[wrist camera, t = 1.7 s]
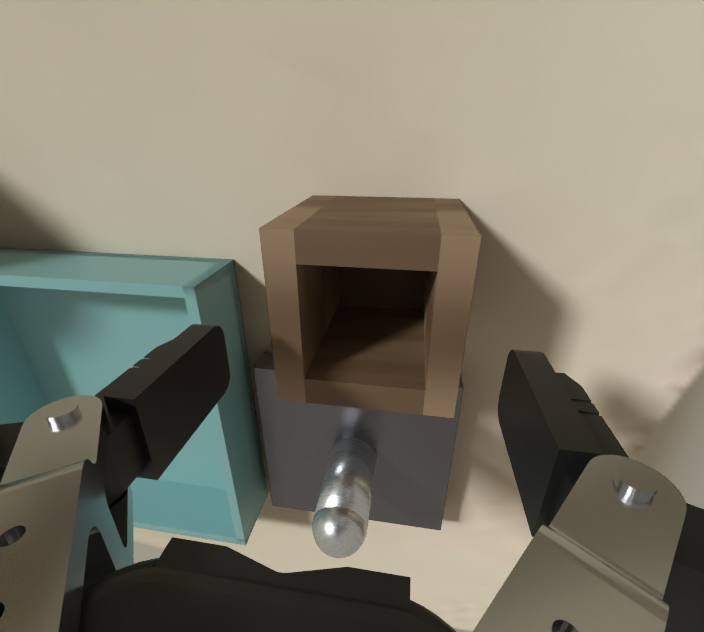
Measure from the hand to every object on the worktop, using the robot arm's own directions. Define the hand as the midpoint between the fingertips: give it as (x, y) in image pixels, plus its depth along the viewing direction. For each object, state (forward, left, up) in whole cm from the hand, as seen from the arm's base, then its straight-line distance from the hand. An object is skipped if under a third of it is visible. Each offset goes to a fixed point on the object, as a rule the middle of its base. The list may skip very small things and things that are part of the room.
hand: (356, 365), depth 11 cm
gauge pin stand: (+10, -1, -7) cm, 12 cm away
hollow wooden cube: (0, 0, -7) cm, 7 cm away
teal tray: (+8, -14, -7) cm, 17 cm away
